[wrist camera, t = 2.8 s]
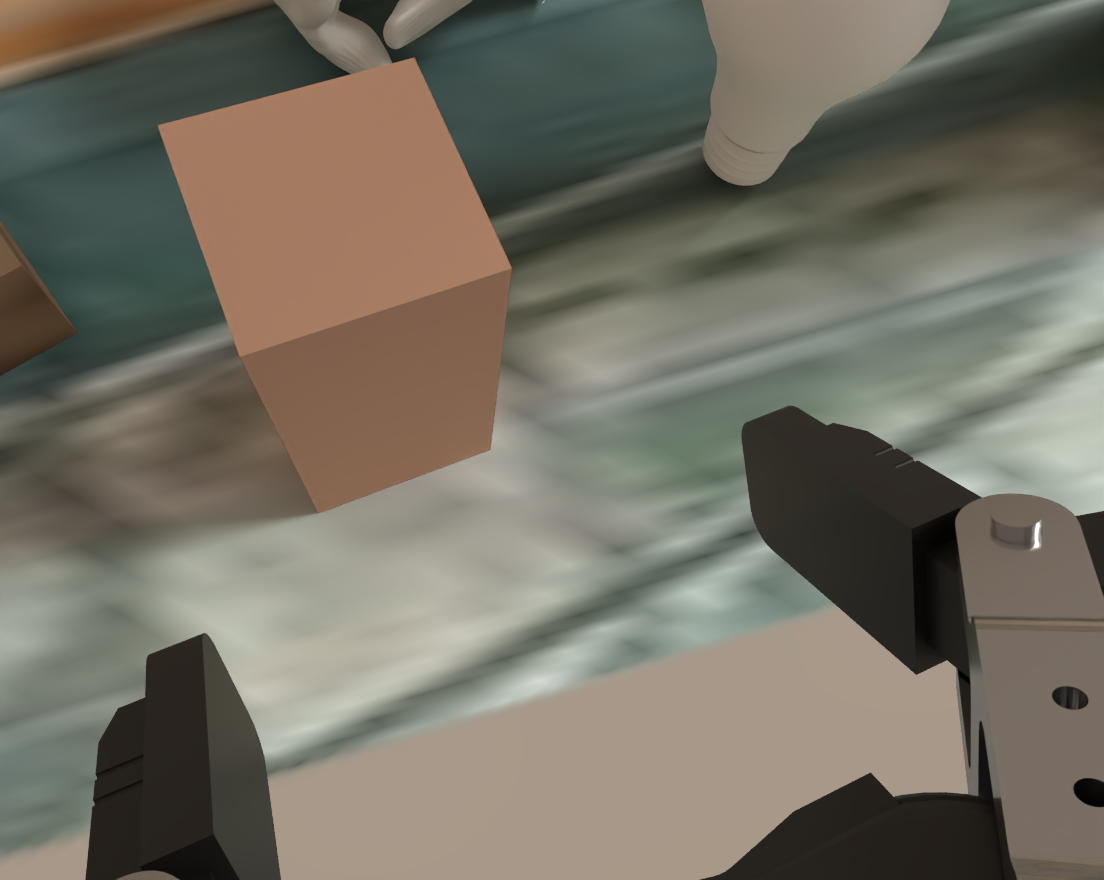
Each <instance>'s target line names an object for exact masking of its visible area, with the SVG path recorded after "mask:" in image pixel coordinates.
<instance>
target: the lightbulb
mask: <svg viewBox="0 0 1104 880" xmlns="http://www.w3.org/2000/svg"><path fill="white" fill-rule="evenodd" d="M949 2H950V0H702V3H703V7H704V12H705V16H706V20H707V24H708V28H709V32H710V37H711V39H712V42H713V45H714V47H715V50H716V55H717V70H716V78H715V82H714V85H713V89H712V93H711V98H710V106H711V112H712V113H711V117H710V119H709V123H708V126H707V129H706V133H705V138H704V142H703V154H704V158H705V160H706V163H707V164H708V166H709V167H710V169H711V170H712V171H713V172H714V173H715V174H716V175H717V176H718V177H720V178H721V179H723V180H725V181H727V182H729V183H732V184H735V185H743V186H747V185H755V184H760V183H762V182H764V181H766V180H767V179H769V178H770V177H771V176H772V175H773V174H774V172H775V171H776V170H777V168H778V166H779V165H780V163H781V162H782V161H783V160H784V159H785V157H786V155H787V153H788V152H789V151H790V149H791V148H792V147H794V146H795V145H796V144H798V143H799V142H800V141H802V140H803V139H804V138H805V136H806V135H807V134H808V133H809V131H810V130H811V128H812V127H813V125H814V124H815V122H816V121H817V120H818V119H819V117H820V116H821V115H822V114H823V113H824V112H825V111H826V110H827V109H829V108H830V107H832V106H833V105H834V104H837V103H839V102H842V101H844V100H847V99H849V98H851V97H854V96H856V95H858V94H860V93H862V92H864V91H866V90H868V89H870V88H872V87H874V86H876V85H878V84H880V83H882V82H884V81H886V80H887V79H889V78H890V77H891V76H893V75H894V74H895V73H897V72H898V71H899V70H901V69H902V68H903V67H904V66H905V65H906V64H907V63H908V62H909V61H910V60H912V59H913V58H914V57H915V56H916V55H917V54H918V53H919V52H920V51H921V49H922V48H923V47H924V46H925V44H926V43H927V42H928V41H929V39H930V38H931V36H932V35H933V33H934V32H935V30H936V29H937V27H938V26H939V24H940V23H941V21H942V18H943V16H944V14H945V12H946V9H947V7H948V5H949Z"/></svg>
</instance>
